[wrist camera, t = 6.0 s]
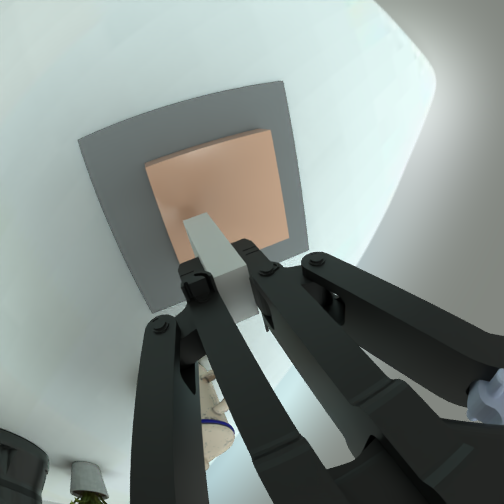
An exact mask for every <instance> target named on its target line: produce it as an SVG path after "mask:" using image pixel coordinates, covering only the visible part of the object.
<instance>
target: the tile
mask: <svg viewBox="0 0 504 504" xmlns="http://www.w3.org/2000/svg"><path fill="white" fill-rule="evenodd" d="M145 169H146V172H147V175H148V178H149V181H150V184H151V187H152V190H153V193H154V196H155V199H156V201H157V204H158V207H159V210H160V213H161V216H162V218H163V221H164V224H165V227H166V229H167V232H168V235H169V237H170V240H171V243H172V245H173V248H174V250H175V253H176V256H177V258H178V261H179V263H180V264H181V263H183V262H186V261H188V260H191V259H193V258H195V255H194V252H193V249H192V246H191V244H190V241H189V238H188V235H187V232H186V229H185V226H184V223H183V221H184V220H186V219H189V218H192V217H195V216H197V215H200V214H203V213H205V212H207V213H208V215H209V216H210V217H211V219H212V220H213V221H214V223H215V224H216V225H217V227H218V228H219V229H220V230H221V232H222V233H223V234H224V236H225V237H226V238H227V240H228V241H229V242H230V243H233V242H236V241H238V240H241V239H244V238H245V239H248V240H251V241H252V242H253V243H254V244H255V245H256V246H257V247H258V248H259V250H260V249H262V248H265V247H267V246H270V245H273V244H275V243H278V242H280V241H283V240H285V239H288V238H289V233H288V227H287V220H286V214H285V208H284V202H283V196H282V190H281V184H280V178H279V173H278V167H277V162H276V156H275V151H274V145H273V140H272V135H271V130H268V129H260V128H259V129H255V130H251V131H247V132H243V133H239V134H235V135H231V136H227V137H224V138H220V139H217V140H213V141H210V142H206V143H203V144H200V145H197V146H193V147H190V148H187V149H184V150H181V151H178V152H175V153H172V154H169V155H166V156H163V157H160V158H157V159H155V160H152V161H149V162H146V163H145Z"/></svg>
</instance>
